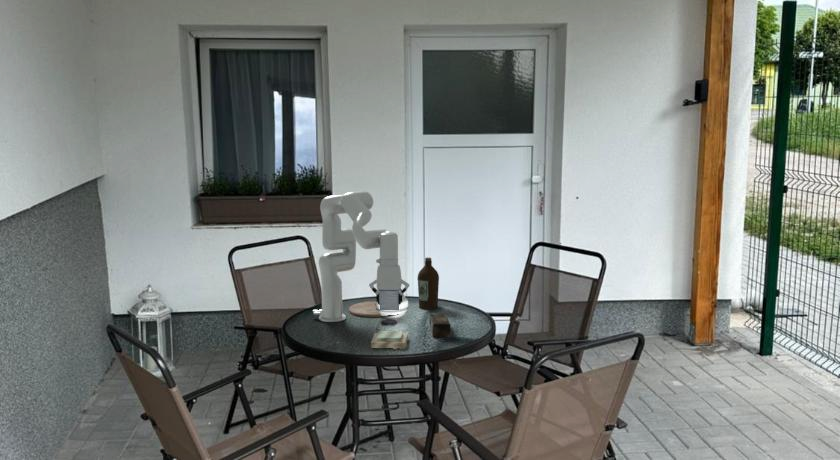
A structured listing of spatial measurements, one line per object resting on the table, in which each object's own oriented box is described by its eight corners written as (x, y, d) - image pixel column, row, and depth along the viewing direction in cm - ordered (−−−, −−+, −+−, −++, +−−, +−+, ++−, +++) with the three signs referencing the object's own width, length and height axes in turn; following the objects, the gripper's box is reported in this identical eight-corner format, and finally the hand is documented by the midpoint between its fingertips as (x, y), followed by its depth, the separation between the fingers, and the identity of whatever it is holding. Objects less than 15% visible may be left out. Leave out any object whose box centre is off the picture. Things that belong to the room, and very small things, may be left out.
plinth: (371, 348, 301) (371, 339, 300) (375, 338, 315) (375, 329, 314) (405, 349, 300) (405, 339, 299) (407, 338, 314) (407, 329, 313)
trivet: (339, 310, 363) (339, 306, 363) (381, 302, 378) (381, 299, 377) (366, 321, 343) (366, 317, 343) (410, 312, 358) (410, 308, 358)
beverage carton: (446, 325, 334) (446, 311, 333) (451, 338, 316) (451, 323, 315) (429, 326, 334) (429, 312, 333) (432, 338, 315) (432, 323, 314)
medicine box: (399, 308, 307) (399, 287, 306) (398, 310, 302) (398, 290, 301) (380, 307, 308) (380, 287, 306) (379, 310, 303) (379, 290, 302)
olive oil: (428, 303, 374) (427, 255, 370) (443, 307, 367) (443, 257, 363) (413, 307, 367) (413, 258, 363) (428, 311, 359) (428, 260, 356)
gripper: (366, 263, 299) (367, 305, 302) (409, 264, 298) (409, 306, 301) (369, 260, 306) (369, 301, 309) (410, 260, 305) (411, 301, 308)
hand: (389, 303), depth 305 cm, fingers closed on medicine box, 8 cm apart
